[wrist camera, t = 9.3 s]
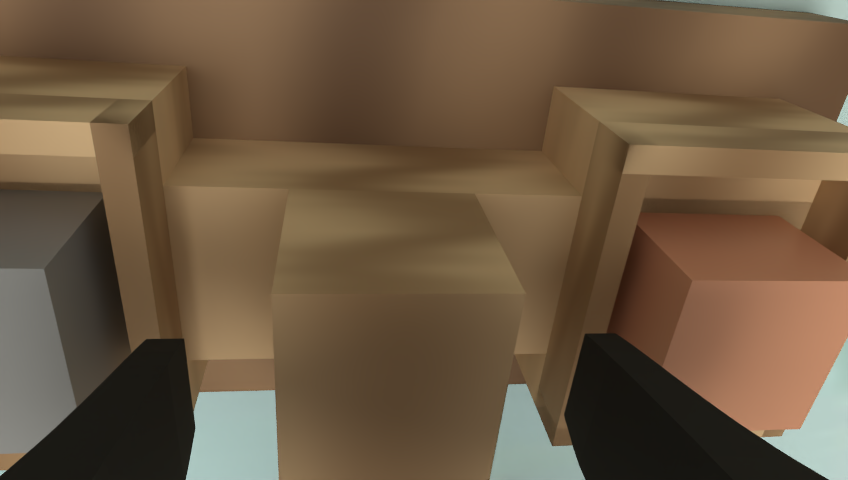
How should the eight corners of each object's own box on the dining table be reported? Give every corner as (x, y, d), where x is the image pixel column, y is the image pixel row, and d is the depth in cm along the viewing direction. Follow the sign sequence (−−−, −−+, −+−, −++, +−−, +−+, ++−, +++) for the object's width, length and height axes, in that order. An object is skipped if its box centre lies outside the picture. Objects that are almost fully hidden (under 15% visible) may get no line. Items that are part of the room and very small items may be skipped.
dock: (809, 12, 18) (876, 26, 16) (692, 335, 23) (729, 378, 21) (-185, -69, 14) (-282, -66, 12) (-41, 345, 19) (-89, 399, 17)
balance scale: (779, 98, 16) (1047, 207, 10) (693, 334, 20) (851, 516, 14) (-130, 48, 13) (-546, 166, 7) (-30, 344, 17) (-242, 592, 10)
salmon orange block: (778, 215, 14) (876, 281, 12) (725, 346, 16) (800, 428, 14) (624, 212, 14) (692, 280, 11) (587, 349, 16) (638, 435, 13)
